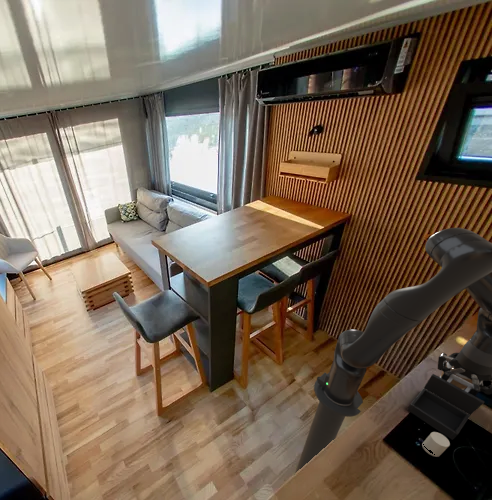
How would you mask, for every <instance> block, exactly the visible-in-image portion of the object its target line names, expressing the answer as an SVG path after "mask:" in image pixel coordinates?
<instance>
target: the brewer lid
mask: <svg viewBox="0 0 492 500" xmlns="http://www.w3.org/2000/svg"><path fill="white" fill-rule="evenodd" d="M452 380H455V381H457V382H459V383H461V384H463V385H465V386H466V387H467V388H465V389H464V390H462V389H460V388H459V387H457V386H455V385H453V384H451V383H450V382H451V381H452ZM473 387H474V385H473V383H472V384H471V383H469V382H467V381H465V380H464V379H462V378H460V377H458V376H456V375H454V374H452V375H451V376H450V377H449V379H448V381H446V380H444V379H442V378H440V376H438V375H437V374H434V373H432V374H431V375H430V377H429V379H428V380H427V382H426V384H425V385H424V387H423V388H425V389H426V390H428V391H430V392H432V393H433V394H435V395H437V396H438V397H440V398H442V399H444V400H445V401H447V402H449V403H450V404H452V405H454V406H456V407H457V408H459V409H461V410H462V411H464V412H466V413H467V414H469V415H470V416H472V415H473V414H475V412H476V411H477V410H478V409H479V408H480V407H481V406H482V405H483V404H484V403H485V401H484V400H483V399H481V398H480V397H477V396H473V395H472V394H470V393H469V391H470V390H471V389H472V388H473Z"/></svg>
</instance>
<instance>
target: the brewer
mask: <svg viewBox="0 0 492 500" xmlns="http://www.w3.org/2000/svg"><path fill="white" fill-rule="evenodd" d="M406 410H407V411H408V413H409V412H410V413H411V414H412V415H414V416H415V417H417V418H418V419H420V420H421V421H423V422H424V423H426V424H427V425H429V426H431V427H432V428H434V429H435V430H436V431H438V432H439V433H440V434H442V435H443V436H445V437H446V438H449V439H450V440H451V441H453V440H454V439H455V438H457V436H458V435H459V434H460V433H461V430H462V429H463V428H464V426H465V424H466V423H467V422H468V421H469V418H470V416H471V415H469V414H468V413H466V412H464V411H462V410H461V409H459V408H457V407H456V406H454V405H452V404H450V403H449V402H447V401H445V400H444V399H442V398H440V397H439V396H437V395H435V394H433V393H432V392H430V391H428V390H427V389H425V388H424V387H423V388H422V389H421V391H420V392H419V393H418V394H417V396H416V397H415V398H414V399H413V400H412V402H411V403H410V404H409V406H408V407H407V408H406Z"/></svg>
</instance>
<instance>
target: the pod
mask: <svg viewBox="0 0 492 500" xmlns="http://www.w3.org/2000/svg"><path fill="white" fill-rule="evenodd" d="M423 444H424V445H423ZM421 446H422V449H423V450H424V451H425V452H426V453H427V454H428V455H430V456H432V457H436V458H439V457H440V456H441V455H442V454H443V453H444V452H445V451H446V450H447V449H448V448H449V447H450V446H451V443H450V440H449V439H448V437H447V436H446V435H444V434H443V433H441V432H439V431H438V432H437V431H432V432H430V434H429V435H428V436H427V437H426V438H425V440H424V441H423V442H422V443H421ZM424 446H425V447H426V448H427V449H428V450H431V451H432V452H433V454H432V453H430V452H429V451H428V450H427V449H426V448H425V447H424ZM434 454H435V455H434Z"/></svg>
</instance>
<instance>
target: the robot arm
mask: <svg viewBox="0 0 492 500" xmlns="http://www.w3.org/2000/svg"><path fill="white" fill-rule="evenodd" d="M425 252H426V253H427V255H428V256H429V257H430V258H431V259H432V261H434V262H435V263H436V264H437V265H438V266H439V267H441V268H440V270H439V271H438V272H437V273H436V274H435V275H434V276H432V277H431V278H430V279H429V280H427V281H426V282H424V283H421V284H418V285H413V286H406V287H403V288H398V289H394V290H392V291H390V292H389V293H388V294H387V295H386V296H385V297H383V299H382V300H380V302H379V303H378V304H376V306H375V308H374V309H373V311H372V313H371V314H370V317H369V319H368V322H367V324H366V327H365V329H364V331H362V330H359V329H347V330H344V331H343V332H341V333H340V334H339V336H338V338H337V342H336V344H335V348H334V351H333V360H332V362H331V366H330V369H329V371H328V373H327V372H324V373H323V374H322V375H321V376H320V375H319V376H317V377H316V380H318V382H317V383H318V384H320V385H321V386H322V390H323V391H324V393H325V395H326V396H327V398H328V399H329V400H330V401H332V402H333V403H335V404H337V405H340V406H349V405H351V404H352V402H353V400H354V397H355V395H356V396H357V391H358V392H359V388H360V386H361V384H362V381H363V380H364V377H365V375H366V372H367V368H370V367H372V366H373V365H375V364H376V363H377V362H378V361H379V360H380V359H381V358H382V357H383V356H384V354H385V353H386V352H387V351H388V350H389V349H390V348H391V347H392V346H393V345H394V344H396V343H397V342H398V341H399V340H401V339H402V338H403V337H404V336H406V334H408V333H409V332H410V331H412V330H413V329H415V328H416V327H417V326H419V324H421V323H422V322H423V321H425V320H426V319H427V318H428V317H429V316H430V315H431V314H432V313H433V312H435V311H437V310H438V309H439V308H440V307H441V306H443V305H444V304H445V303H448V301H449V300H450V299H451V300H452V298H454V297H455V296H457V295H458V294H460V293H461V292H463V291H464V290H466V292H467V293H468V294H469V296H470V297H471V298H472V299H473V300H474V302H475V303H476V304H477V305H478V307H479V309H478V313H477V318H476V319H477V320H476V330H475V332H474V333H473V334H472V335H471V337H470V339H469V340H467V341H466V342H465V344H463V347H461V349H460V351H458V353H459V354H458V355H457V357H454V358H451V357H449V356H450V355H448V354H446V353H445V352H441V353H440V355H439V356H438V359H437V370H438V371H441V372H442V371H443V372H444V374H443V375H442V377H441V378H442V379H444V380H446V381H447V380H448V378H449V377H450V376H451V375H452V374H454V375H455V374H458V373H459V374H461V375H463V376H466V377H467V378H469V379H471V380H472V384H473V385H474V387H473V388H472V389H470V391H469V392H468V393H470V394H472V395H473V396H475V397H477V395H478V393H480V392H481V393H484V394H485V395H487V396H491V395H492V242H490V241H488V239H486V238H484V237H483V236H481V235H480V234H478V233H477V232H474V231H472V230H471V229H466V228H462V227H448V228H445V229H442V230H439V231H437V232H435V233H434V234H432V235H431V236H430V237H429V238H428V239H427V240H426V242H425ZM448 361H451V363H452V364H453V367H451V368H447V367H446V362H448ZM484 382H491V383H490V385H488V386H485V385H484Z"/></svg>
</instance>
